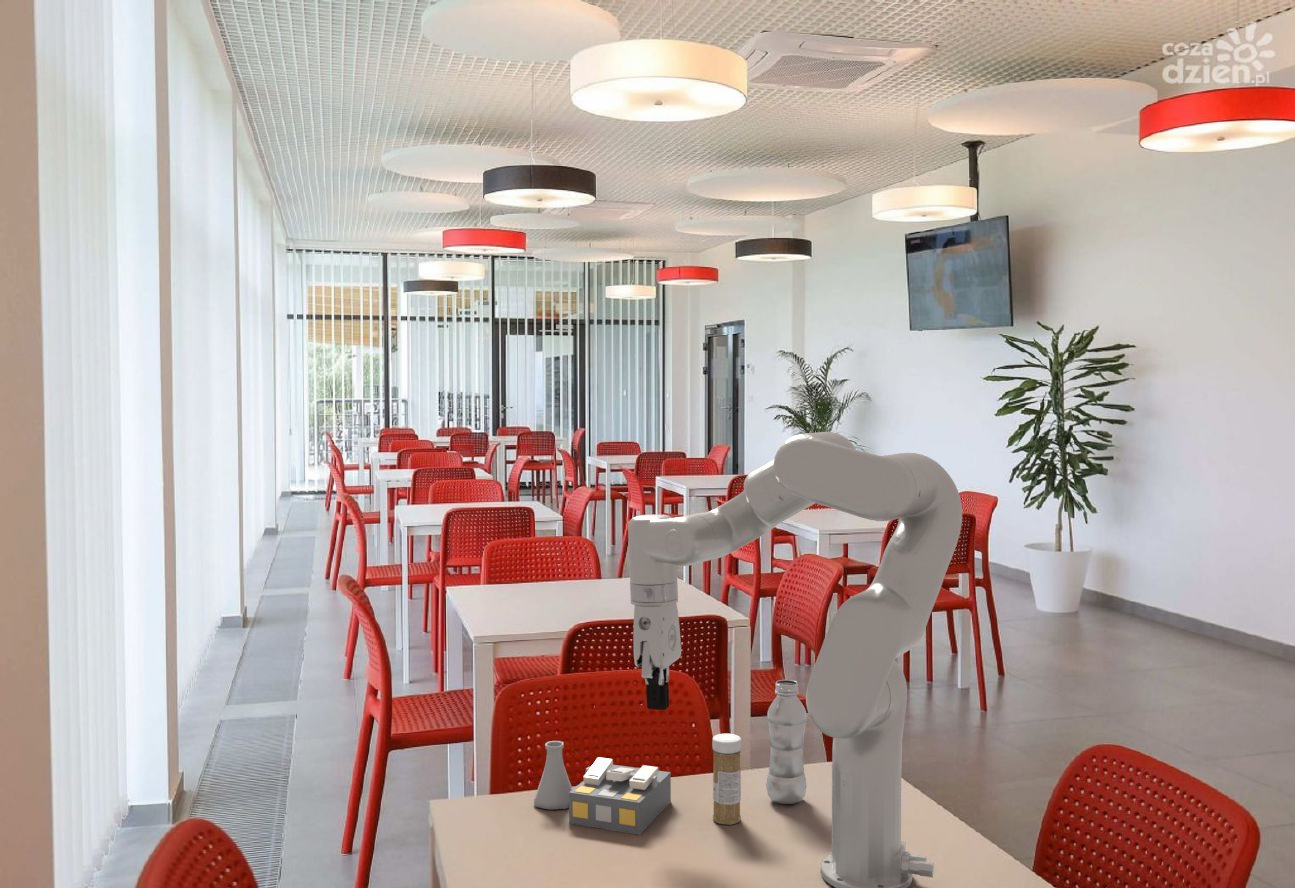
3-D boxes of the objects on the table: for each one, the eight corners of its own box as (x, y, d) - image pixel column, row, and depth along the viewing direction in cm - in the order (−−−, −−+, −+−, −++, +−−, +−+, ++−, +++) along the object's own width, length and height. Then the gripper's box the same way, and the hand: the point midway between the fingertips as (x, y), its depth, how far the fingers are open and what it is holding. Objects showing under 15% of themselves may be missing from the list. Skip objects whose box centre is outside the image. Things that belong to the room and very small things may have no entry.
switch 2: (635, 776, 172) (635, 768, 172) (621, 781, 166) (621, 772, 167) (620, 774, 173) (621, 766, 173) (606, 779, 167) (606, 770, 168)
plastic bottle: (759, 798, 176) (758, 680, 175) (793, 791, 179) (793, 675, 178) (779, 811, 170) (779, 690, 169) (814, 804, 173) (814, 685, 172)
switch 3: (658, 774, 171) (657, 766, 170) (644, 789, 165) (644, 781, 165) (643, 772, 172) (643, 764, 171) (629, 787, 166) (629, 779, 166)
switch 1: (613, 765, 174) (612, 758, 173) (598, 785, 168) (598, 778, 168) (598, 763, 174) (598, 756, 174) (584, 783, 169) (583, 776, 169)
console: (671, 801, 174) (670, 762, 174) (639, 835, 161) (639, 792, 161) (604, 792, 179) (604, 754, 178) (568, 823, 165) (568, 782, 165)
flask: (569, 813, 170) (569, 752, 170) (527, 809, 172) (526, 749, 171) (581, 796, 177) (581, 738, 177) (540, 793, 179) (540, 735, 178)
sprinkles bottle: (715, 813, 169) (714, 731, 169) (743, 815, 168) (743, 733, 168) (710, 824, 165) (710, 740, 164) (739, 827, 164) (739, 742, 163)
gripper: (660, 602, 157) (665, 723, 158) (690, 586, 171) (694, 697, 172) (614, 600, 160) (618, 720, 160) (647, 585, 174) (651, 694, 174)
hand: (658, 708), depth 166 cm, fingers closed
